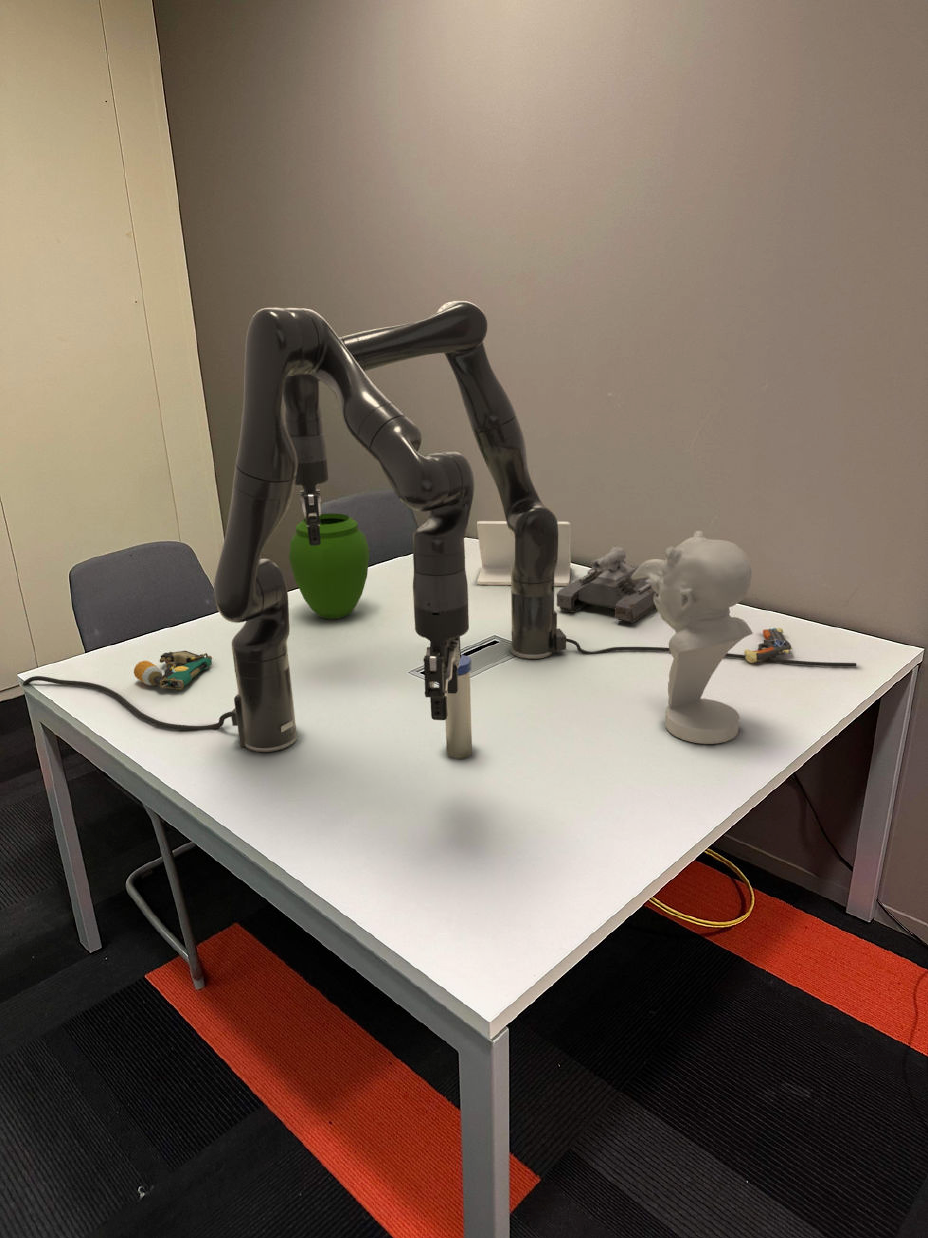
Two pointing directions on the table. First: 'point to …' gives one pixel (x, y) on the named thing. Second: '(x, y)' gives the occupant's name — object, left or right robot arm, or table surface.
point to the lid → (464, 665)
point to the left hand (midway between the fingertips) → (445, 705)
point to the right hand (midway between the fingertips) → (314, 539)
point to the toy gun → (769, 646)
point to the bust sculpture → (699, 629)
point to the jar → (459, 720)
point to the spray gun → (172, 669)
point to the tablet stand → (501, 553)
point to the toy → (610, 589)
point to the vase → (330, 565)
